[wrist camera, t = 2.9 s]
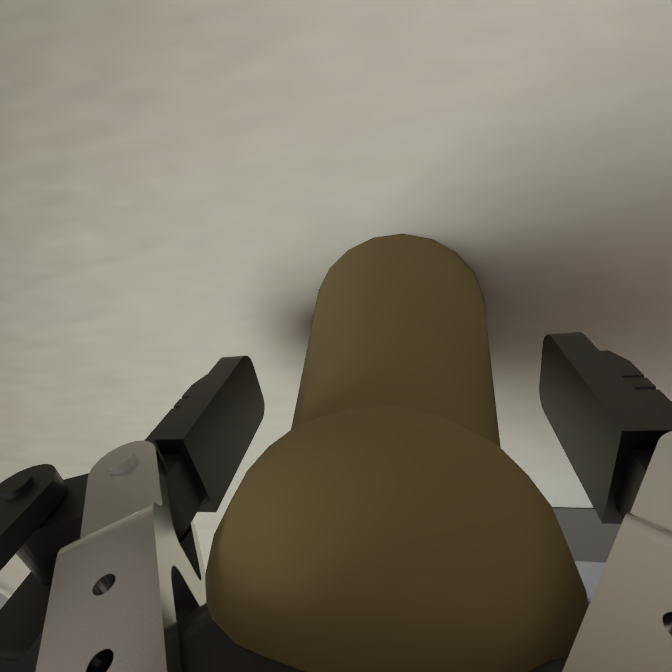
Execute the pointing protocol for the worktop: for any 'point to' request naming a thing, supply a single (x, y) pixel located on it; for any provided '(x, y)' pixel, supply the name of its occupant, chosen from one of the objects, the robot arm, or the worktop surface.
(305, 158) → the worktop surface
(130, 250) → the worktop surface
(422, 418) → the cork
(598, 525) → the knob on square plate
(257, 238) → the worktop surface
